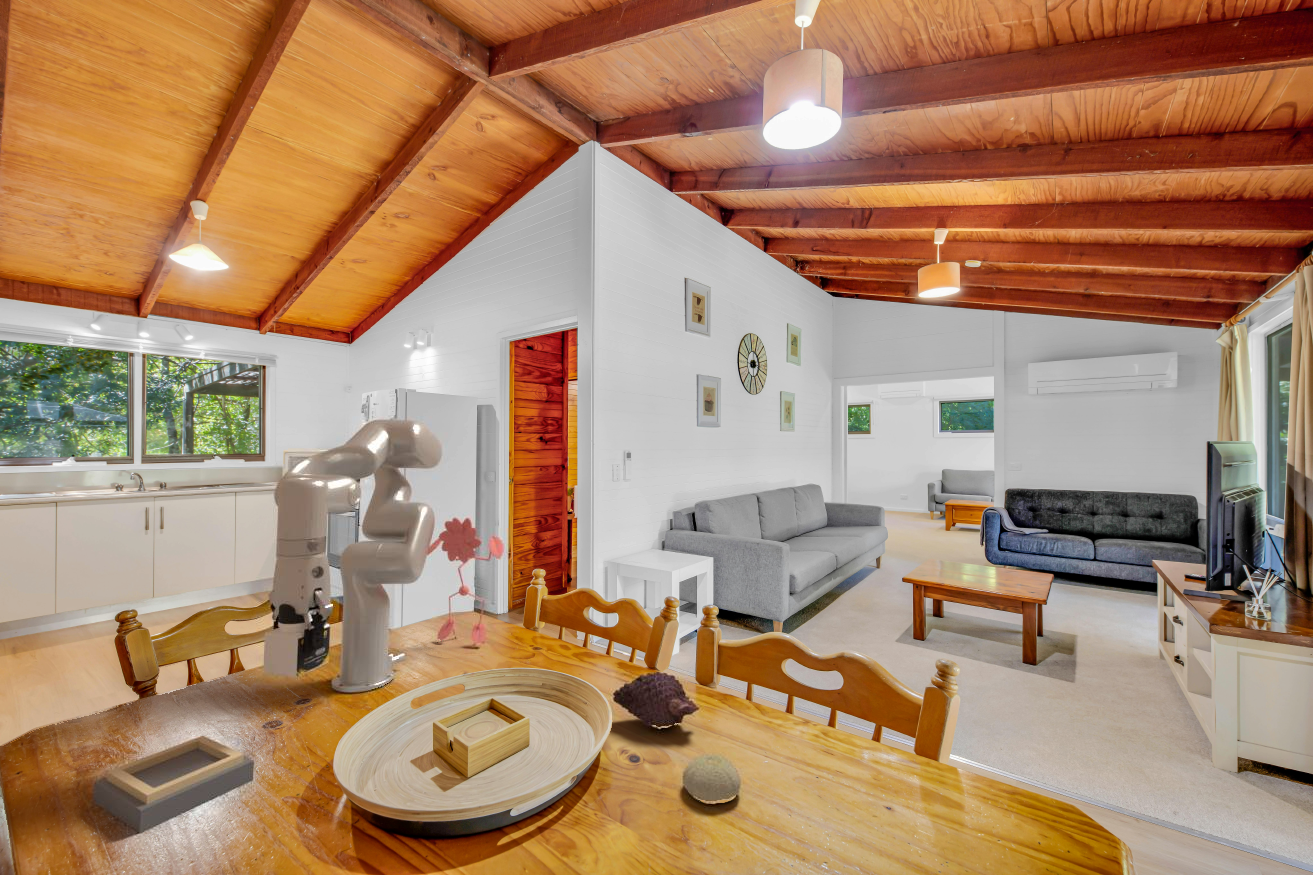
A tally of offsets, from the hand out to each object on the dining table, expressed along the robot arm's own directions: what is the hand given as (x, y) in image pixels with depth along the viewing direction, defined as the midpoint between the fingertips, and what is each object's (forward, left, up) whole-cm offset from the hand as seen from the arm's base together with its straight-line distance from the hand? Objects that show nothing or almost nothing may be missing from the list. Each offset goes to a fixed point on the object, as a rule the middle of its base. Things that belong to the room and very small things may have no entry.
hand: (297, 644), depth 98 cm
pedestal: (+16, -2, -18) cm, 24 cm away
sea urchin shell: (-23, +70, -18) cm, 76 cm away
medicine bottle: (0, 0, -4) cm, 4 cm away
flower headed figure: (-50, -13, -18) cm, 54 cm away
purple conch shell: (-38, +53, -18) cm, 68 cm away
